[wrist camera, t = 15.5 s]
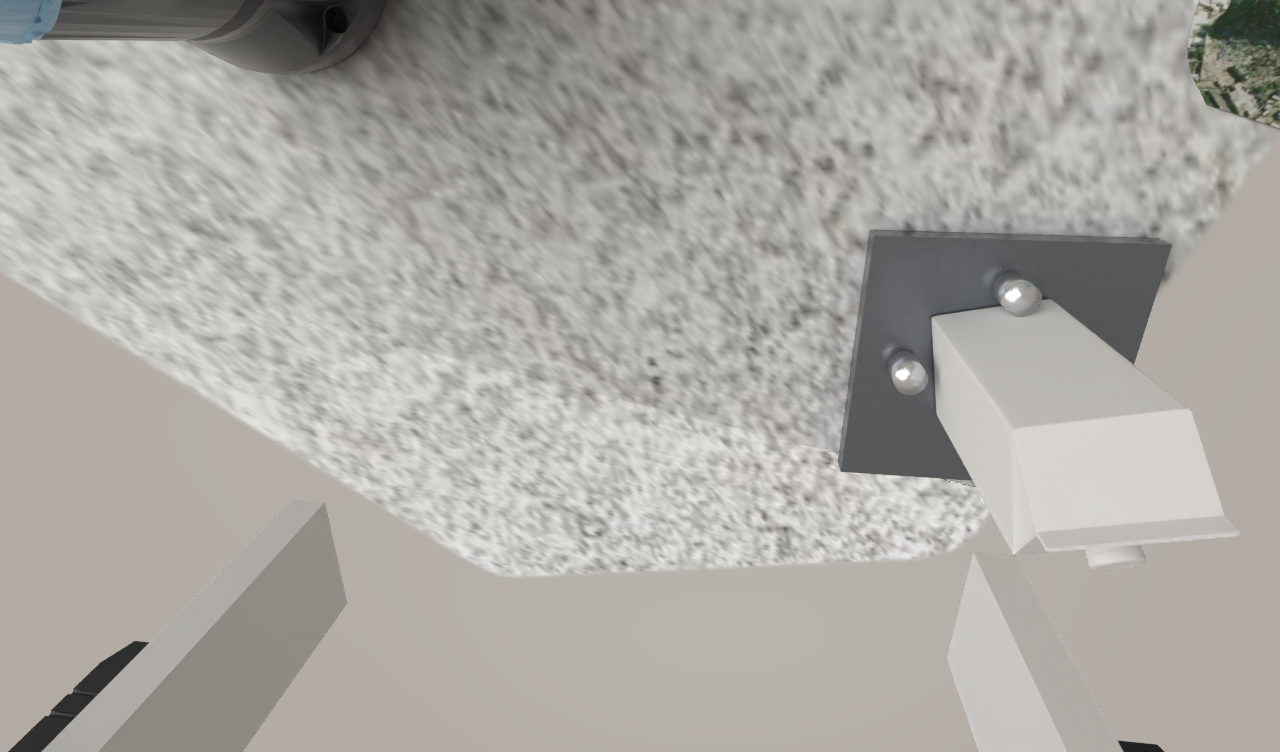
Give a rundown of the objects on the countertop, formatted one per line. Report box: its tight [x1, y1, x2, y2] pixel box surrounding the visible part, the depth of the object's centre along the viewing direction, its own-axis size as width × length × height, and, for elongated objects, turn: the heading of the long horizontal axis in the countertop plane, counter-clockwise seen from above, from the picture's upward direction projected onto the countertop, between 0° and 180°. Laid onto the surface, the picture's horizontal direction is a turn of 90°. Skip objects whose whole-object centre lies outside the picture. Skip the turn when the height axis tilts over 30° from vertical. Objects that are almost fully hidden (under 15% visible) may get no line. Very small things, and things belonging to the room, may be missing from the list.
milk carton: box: [931, 299, 1240, 570], centre depth 37 cm, size 7×7×19 cm
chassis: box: [838, 230, 1172, 480], centre depth 46 cm, size 17×17×4 cm
